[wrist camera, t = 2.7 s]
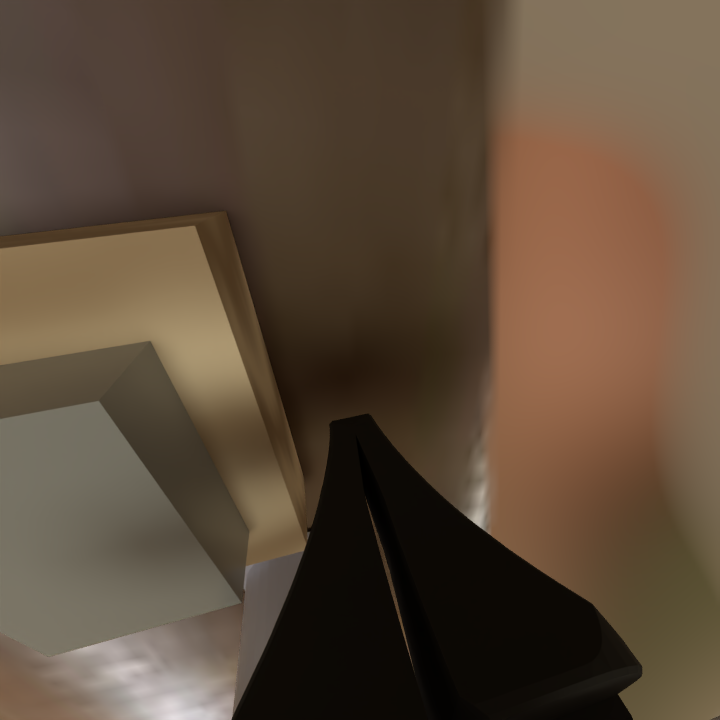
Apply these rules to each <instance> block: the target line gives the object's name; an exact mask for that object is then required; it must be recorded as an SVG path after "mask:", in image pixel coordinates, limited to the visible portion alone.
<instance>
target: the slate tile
mask: <svg viewBox="0 0 720 720" xmlns="http://www.w3.org/2000/svg"><path fill="white" fill-rule="evenodd" d="M248 541H249V530H248V528H247V526H246V524H245V522H244V520H243V518H242V516H241V514H240V512H239V510H238V509H237V507H236V505H235V503H234V501H233V499H232V497H231V495H230V493H229V491H228V489H227V487H226V485H225V484H224V482H223V480H222V478H221V476H220V474H219V472H218V470H217V468H216V466H215V464H214V462H213V460H212V459H211V457H210V455H209V453H208V451H207V449H206V447H205V445H204V443H203V441H202V439H201V437H200V435H199V434H198V432H197V430H196V428H195V426H194V424H193V422H192V420H191V418H190V416H189V414H188V412H187V410H186V409H185V407H184V405H183V403H182V401H181V399H180V397H179V395H178V393H177V391H176V389H175V387H174V385H173V384H172V382H171V380H170V378H169V376H168V374H167V372H166V370H165V368H164V366H163V364H162V362H161V361H160V359H159V357H158V355H157V353H156V351H155V349H154V347H153V345H152V343H151V341H146V342H140V343H134V344H127V345H121V346H115V347H109V348H103V349H97V350H91V351H85V352H78V353H72V354H66V355H60V356H54V357H48V358H42V359H36V360H29V361H23V362H17V363H11V364H5V365H0V633H2V634H4V635H6V636H8V637H10V638H12V639H14V640H16V641H18V642H20V643H22V644H24V645H26V646H28V647H30V648H32V649H34V650H36V651H38V652H40V653H41V654H43V655H45V656H47V657H51V656H54V655H58V654H62V653H65V652H69V651H72V650H76V649H79V648H83V647H87V646H90V645H94V644H97V643H101V642H104V641H108V640H111V639H115V638H119V637H122V636H126V635H129V634H133V633H136V632H140V631H144V630H147V629H151V628H154V627H158V626H161V625H165V624H168V623H172V622H176V621H179V620H183V619H186V618H190V617H193V616H197V615H201V614H204V613H208V612H211V611H215V610H218V609H222V608H226V607H229V606H233V605H236V604H240V603H242V597H243V587H244V578H245V569H246V559H247V550H248Z"/></svg>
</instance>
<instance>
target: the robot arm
mask: <svg viewBox="0 0 720 720" xmlns="http://www.w3.org/2000/svg"><path fill="white" fill-rule="evenodd" d="M329 426H330V443H329V453H328V460H327V466H326V471H325V477H324V482H323V486H322V490H321V495H320V499H319V503H318V507H317V511H316V514H315V518H314V521H313V524H312V528H311V531H310V532H307V536H308V540H307V543H306V546H305V549H304V551H301V552H298V553H294V554H290V555H286V556H282V557H279V558H275V559H271V560H267V561H264V562H260V563H256V564H252V565H249V566H246V569H245V578H244V587H243V589H244V590H245V599H244V609H243V619H242V629H241V639H240V649H239V658H238V668H237V678H236V688H235V698H234V708H233V717H232V720H633V718H632V716H631V714H630V713H629V711H628V709H627V708H626V706H625V705H624V703H623V702H622V700H621V699H620V697H619V696H618V693H620V692H621V691H623V690H624V689H625V688H627V687H628V686H630V685H631V684H633V683H634V682H635V681H637V680H638V679H639V678H640V677H641V676H642V666H641V664H640V663H639V662H638V660H637V659H636V658H635V656H634V655H633V653H632V652H631V651H630V649H629V648H628V647H627V645H626V644H625V642H624V641H623V640H622V638H621V637H620V636H619V635H618V634H617V632H616V631H615V630H614V629H613V628H612V626H611V625H610V624H609V623H608V622H607V620H605V618H604V617H603V616H602V615H601V614H600V613H599V611H598V610H597V609H596V608H595V607H594V605H593V604H592V603H590V602H589V601H587V600H586V599H584V598H582V597H581V596H579V595H577V594H576V593H574V592H572V591H571V590H569V589H568V588H566V587H565V586H563V585H561V584H560V583H558V582H557V581H555V580H554V579H552V578H551V577H549V576H547V575H546V574H544V573H543V572H541V571H540V570H538V569H537V568H535V567H534V566H532V565H531V564H530V563H528V562H527V561H525V560H524V559H522V558H521V557H519V556H518V555H516V554H515V553H513V552H512V551H511V550H509V549H508V548H506V547H505V546H504V545H502V544H501V543H500V542H498V541H497V540H496V539H494V538H493V537H492V536H491V535H489V534H488V533H487V532H485V531H484V530H483V529H481V528H480V527H479V526H477V525H476V524H475V523H473V522H472V521H471V520H470V519H468V518H467V517H466V516H465V515H464V514H462V513H461V512H460V511H459V510H457V509H456V508H455V507H454V506H453V505H452V504H450V503H449V502H448V501H447V500H446V499H445V498H444V497H443V496H441V495H440V494H439V493H438V492H437V491H436V490H435V489H434V488H433V487H432V486H431V485H430V484H429V483H428V482H426V480H425V479H424V478H423V477H422V476H421V475H420V474H419V473H418V472H417V471H416V470H415V469H414V468H413V467H412V466H411V465H410V464H409V463H408V462H407V461H406V460H405V459H404V457H403V456H402V455H401V454H400V453H399V452H398V451H397V449H396V448H395V447H394V446H393V445H392V444H391V442H390V441H389V440H388V439H387V437H386V436H385V435H384V433H383V432H382V431H381V429H380V428H379V427H378V425H377V424H376V422H375V421H374V419H373V418H372V416H371V415H369V414H364V415H359V416H355V417H350V418H345V419H340V420H336V421H332V422H331V423H330V424H329ZM365 496H366V498H365ZM366 499H367V502H368V505H369V508H370V511H371V514H372V517H373V520H374V523H375V526H376V529H377V532H378V535H379V538H380V541H381V544H382V547H383V550H384V553H385V556H386V560H387V563H388V567H389V570H390V574H391V578H392V582H393V586H394V590H395V594H396V598H397V602H398V606H399V610H400V614H401V618H402V623H403V627H404V631H405V635H406V639H407V643H408V647H409V651H410V656H411V660H412V663H411V660H410V656H409V653H408V649H407V646H406V642H405V639H404V636H403V632H402V629H401V625H400V622H399V618H398V615H397V611H396V608H395V604H394V601H393V597H392V594H391V590H390V587H389V583H388V580H387V576H386V573H385V569H384V565H383V562H382V558H381V555H380V551H379V547H378V544H377V540H376V536H375V533H374V529H373V525H372V521H371V518H370V514H369V510H368V507H367V503H366ZM412 664H413V666H412ZM413 668H414V670H413ZM414 672H415V673H414ZM415 676H416V677H415ZM711 720H720V716H718V717H715V718H713V719H711Z"/></svg>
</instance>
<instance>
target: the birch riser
mask: <svg viewBox="0 0 720 720" xmlns="http://www.w3.org/2000/svg"><path fill="white" fill-rule="evenodd" d="M146 341H151V343H152V345H153V347H154V349H155V351H156V353H157V355H158V357H159V359H160V361H161V362H162V364H163V366H164V368H165V370H166V372H167V374H168V376H169V378H170V380H171V382H172V384H173V385H174V387H175V389H176V391H177V393H178V395H179V397H180V399H181V401H182V403H183V405H184V407H185V409H186V410H187V412H188V414H189V416H190V418H191V420H192V422H193V424H194V426H195V428H196V430H197V432H198V434H199V435H200V437H201V439H202V441H203V443H204V445H205V447H206V449H207V451H208V453H209V455H210V457H211V459H212V460H213V462H214V464H215V466H216V468H217V470H218V472H219V474H220V476H221V478H222V480H223V482H224V484H225V485H226V487H227V489H228V491H229V493H230V495H231V497H232V499H233V501H234V503H235V505H236V507H237V509H238V510H239V512H240V514H241V516H242V518H243V520H244V522H245V524H246V526H247V528H248V530H249V541H248V550H247V559H246V566H249V565H252V564H256V563H260V562H264V561H267V560H271V559H275V558H279V557H282V556H286V555H290V554H294V553H298V552H301V551H304V549H305V546H306V543H307V540H308V536H307V519H306V502H305V484H304V476H303V473H302V469H301V466H300V462H299V459H298V456H297V452H296V449H295V445H294V442H293V438H292V435H291V432H290V428H289V425H288V421H287V418H286V415H285V411H284V408H283V404H282V401H281V397H280V394H279V391H278V387H277V384H276V380H275V377H274V374H273V370H272V367H271V363H270V360H269V356H268V353H267V350H266V346H265V343H264V339H263V336H262V332H261V329H260V326H259V322H258V319H257V315H256V312H255V309H254V305H253V302H252V298H251V295H250V291H249V288H248V285H247V281H246V278H245V274H244V271H243V268H242V264H241V261H240V257H239V254H238V250H237V247H236V244H235V240H234V237H233V233H232V230H231V226H230V223H229V220H228V216H227V213H226V211H219V212H211V213H202V214H193V215H184V216H175V217H167V218H158V219H149V220H140V221H131V222H123V223H114V224H105V225H96V226H87V227H79V228H70V229H61V230H52V231H43V232H35V233H26V234H17V235H8V236H0V365H5V364H11V363H17V362H23V361H29V360H36V359H42V358H48V357H54V356H60V355H66V354H72V353H78V352H85V351H91V350H97V349H103V348H109V347H115V346H121V345H127V344H134V343H140V342H146Z"/></svg>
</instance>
